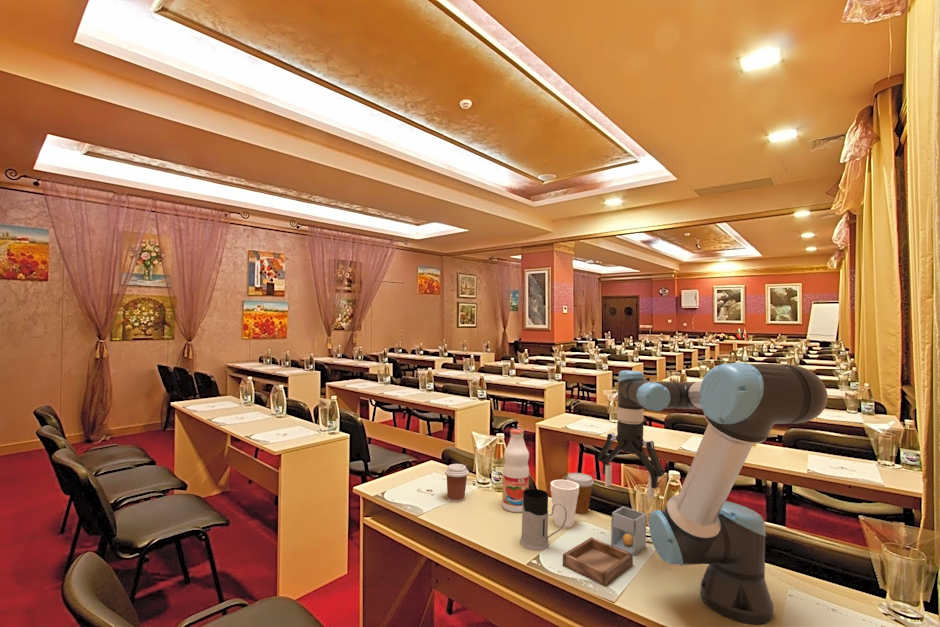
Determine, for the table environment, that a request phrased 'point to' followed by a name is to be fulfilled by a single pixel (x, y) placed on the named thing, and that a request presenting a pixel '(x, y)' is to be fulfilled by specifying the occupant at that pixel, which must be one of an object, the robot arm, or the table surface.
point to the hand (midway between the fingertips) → (628, 491)
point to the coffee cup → (456, 482)
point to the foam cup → (564, 501)
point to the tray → (598, 561)
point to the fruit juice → (515, 472)
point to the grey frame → (628, 529)
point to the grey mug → (536, 519)
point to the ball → (628, 539)
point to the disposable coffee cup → (582, 490)
